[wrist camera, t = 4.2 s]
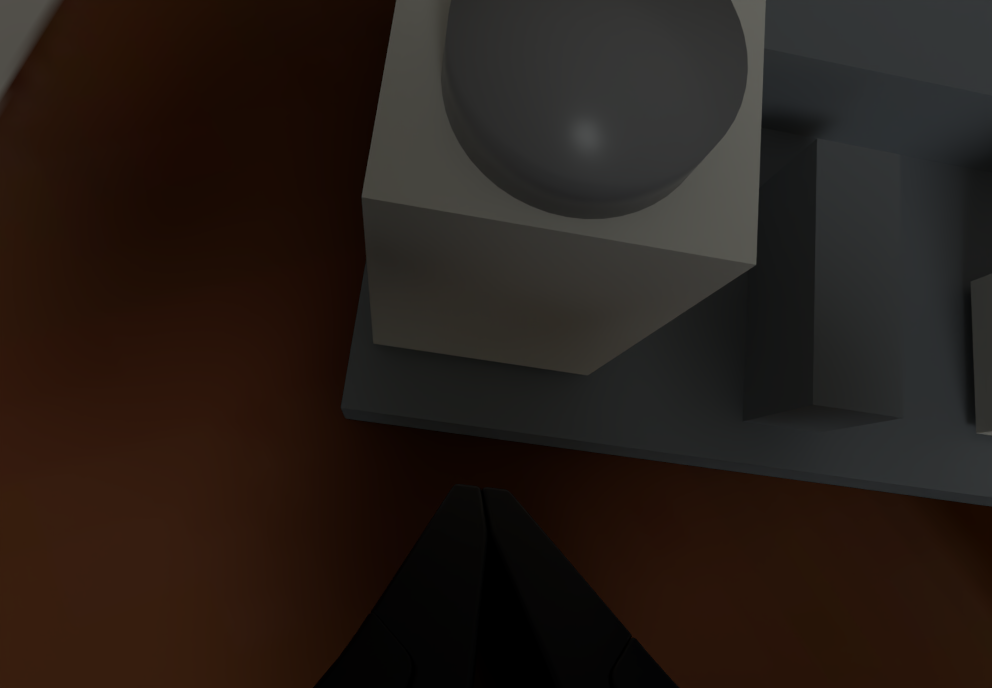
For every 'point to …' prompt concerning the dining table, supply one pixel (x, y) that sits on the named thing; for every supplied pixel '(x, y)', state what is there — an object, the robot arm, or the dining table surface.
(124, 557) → the dining table surface
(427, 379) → the switch panel
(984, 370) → the button
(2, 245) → the dining table surface
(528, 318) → the button
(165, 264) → the dining table surface
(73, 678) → the dining table surface
